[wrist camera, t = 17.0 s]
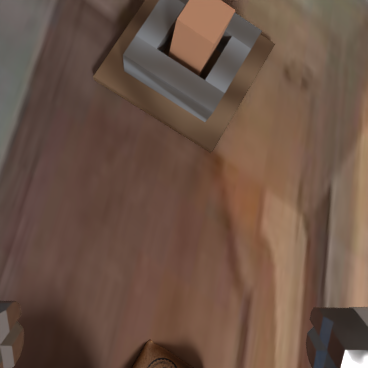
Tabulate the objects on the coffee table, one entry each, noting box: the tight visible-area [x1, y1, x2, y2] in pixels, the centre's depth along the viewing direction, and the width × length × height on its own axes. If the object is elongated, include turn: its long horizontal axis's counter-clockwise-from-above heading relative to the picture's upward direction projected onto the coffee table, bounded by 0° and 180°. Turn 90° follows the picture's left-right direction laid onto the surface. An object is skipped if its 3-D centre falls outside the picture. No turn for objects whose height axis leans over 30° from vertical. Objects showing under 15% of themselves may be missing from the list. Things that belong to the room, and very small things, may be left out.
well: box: [93, 0, 275, 153], centre depth 36 cm, size 16×16×5 cm
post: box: [168, 0, 236, 76], centre depth 33 cm, size 4×4×9 cm
